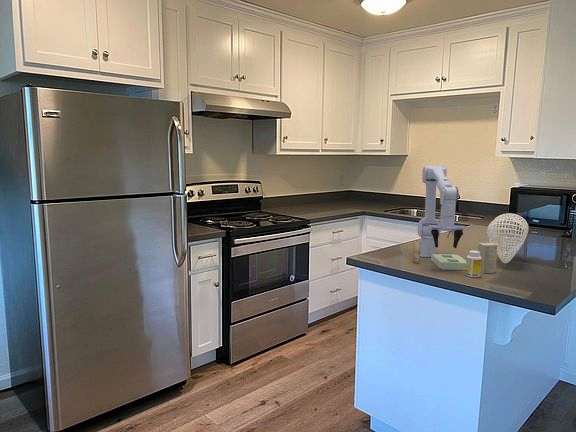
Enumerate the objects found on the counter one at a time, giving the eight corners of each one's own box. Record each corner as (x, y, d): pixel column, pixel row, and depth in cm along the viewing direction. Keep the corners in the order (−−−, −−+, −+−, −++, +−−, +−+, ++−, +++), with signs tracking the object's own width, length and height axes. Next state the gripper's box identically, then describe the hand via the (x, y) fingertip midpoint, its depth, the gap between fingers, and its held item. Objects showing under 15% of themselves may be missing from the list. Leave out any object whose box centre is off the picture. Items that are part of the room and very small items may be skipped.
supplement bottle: (482, 275, 175) (484, 251, 174) (477, 278, 171) (479, 253, 170) (468, 273, 179) (470, 249, 177) (463, 275, 175) (465, 251, 173)
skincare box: (490, 270, 184) (492, 242, 182) (495, 273, 179) (498, 244, 178) (476, 270, 183) (478, 242, 182) (481, 273, 179) (483, 244, 177)
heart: (490, 255, 212) (494, 210, 209) (526, 259, 204) (530, 213, 201) (482, 267, 189) (486, 217, 186) (522, 272, 181) (526, 220, 177)
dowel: (412, 261, 197) (413, 242, 196) (418, 261, 197) (419, 242, 196) (413, 263, 194) (414, 244, 193) (420, 263, 194) (421, 244, 193)
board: (431, 260, 200) (431, 254, 200) (457, 260, 200) (457, 254, 199) (441, 269, 184) (441, 262, 184) (469, 270, 184) (470, 263, 183)
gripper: (432, 216, 176) (430, 248, 178) (468, 217, 175) (466, 249, 177) (428, 214, 183) (426, 245, 185) (463, 215, 182) (461, 246, 184)
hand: (445, 247), depth 181 cm, fingers open, 7 cm apart
